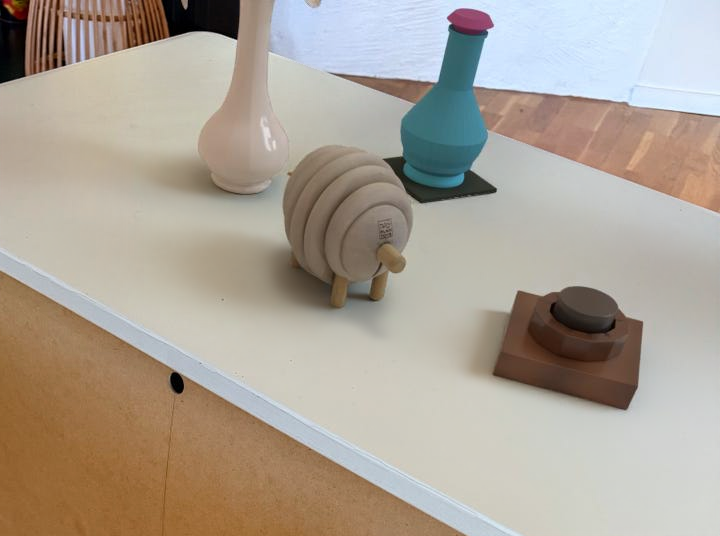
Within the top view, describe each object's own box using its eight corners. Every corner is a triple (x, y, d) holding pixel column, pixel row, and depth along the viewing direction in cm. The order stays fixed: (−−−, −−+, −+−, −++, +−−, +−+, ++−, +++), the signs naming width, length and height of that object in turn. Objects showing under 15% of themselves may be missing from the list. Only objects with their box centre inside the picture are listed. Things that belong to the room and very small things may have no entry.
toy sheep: (332, 233, 89) (353, 110, 81) (440, 319, 81) (477, 190, 72) (239, 251, 85) (251, 123, 77) (343, 344, 76) (369, 210, 68)
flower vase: (127, 175, 94) (127, -142, 75) (269, 145, 102) (301, -146, 83) (200, 229, 87) (221, -102, 69) (345, 193, 96) (398, -111, 77)
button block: (633, 343, 81) (652, 301, 78) (626, 410, 74) (648, 366, 71) (510, 312, 82) (524, 270, 79) (492, 374, 75) (507, 330, 72)
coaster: (496, 192, 100) (497, 188, 99) (421, 203, 96) (422, 199, 96) (443, 154, 105) (443, 151, 105) (370, 163, 101) (370, 159, 101)
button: (611, 314, 77) (620, 294, 75) (608, 342, 74) (616, 322, 72) (554, 300, 77) (562, 280, 76) (548, 327, 74) (556, 307, 73)
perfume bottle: (383, 154, 102) (415, -5, 91) (462, 158, 104) (503, 2, 93) (402, 190, 97) (438, 26, 85) (485, 194, 98) (532, 32, 87)
